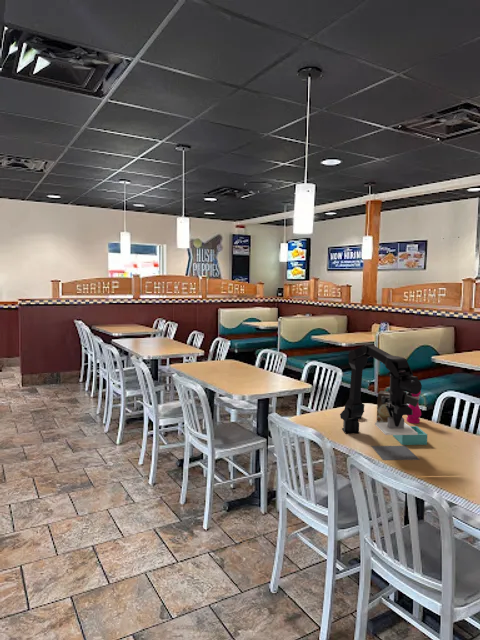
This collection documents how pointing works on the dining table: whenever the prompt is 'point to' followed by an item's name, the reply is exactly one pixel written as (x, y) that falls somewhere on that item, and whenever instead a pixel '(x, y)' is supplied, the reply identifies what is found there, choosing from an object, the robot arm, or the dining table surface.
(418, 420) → the pepper mill
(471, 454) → the dining table surface
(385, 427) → the lid
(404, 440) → the dish
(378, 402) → the coffee box
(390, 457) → the mat
